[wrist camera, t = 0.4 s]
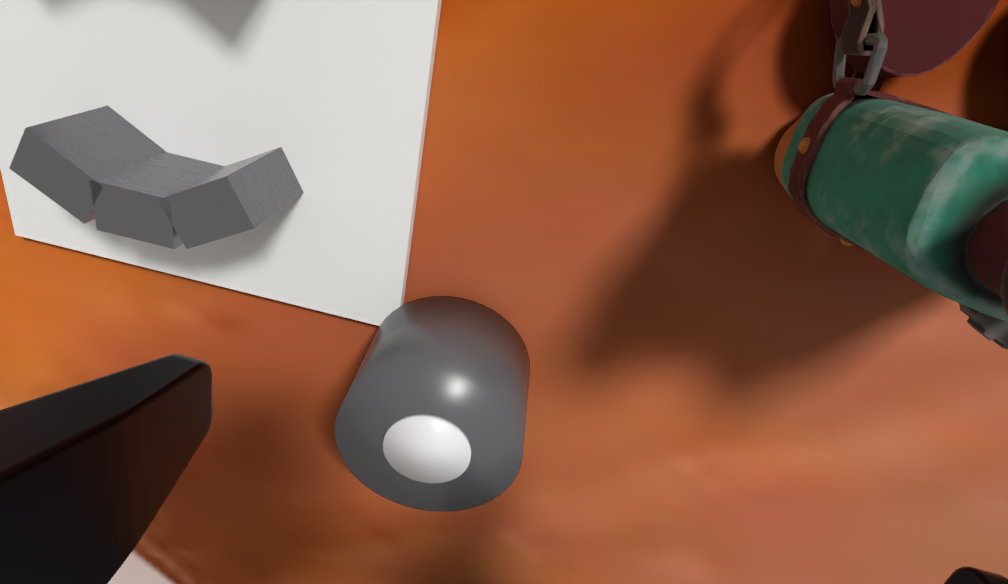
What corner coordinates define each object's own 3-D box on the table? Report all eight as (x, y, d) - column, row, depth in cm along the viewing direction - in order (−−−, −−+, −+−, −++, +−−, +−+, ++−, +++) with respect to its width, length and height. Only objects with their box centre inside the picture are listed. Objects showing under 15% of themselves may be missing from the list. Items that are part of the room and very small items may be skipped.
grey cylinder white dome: (513, 437, 23) (503, 531, 19) (366, 407, 23) (328, 496, 19) (545, 315, 20) (540, 399, 16) (377, 280, 20) (335, 358, 16)
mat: (400, 324, 21) (397, 330, 21) (25, 230, 22) (15, 235, 22) (476, -276, 13) (472, -283, 13) (-111, -395, 14) (-129, -404, 14)
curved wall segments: (302, 228, 20) (255, 269, 17) (96, 178, 20) (18, 210, 17) (313, -150, 15) (249, -176, 12) (39, -209, 15) (-82, -247, 12)
